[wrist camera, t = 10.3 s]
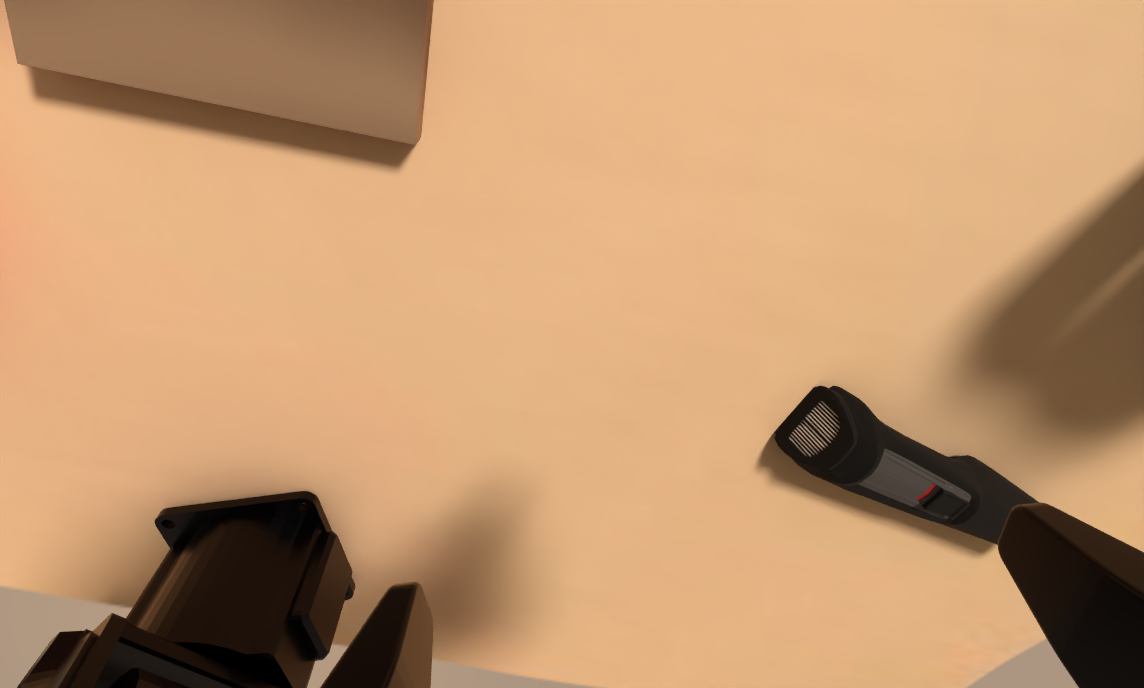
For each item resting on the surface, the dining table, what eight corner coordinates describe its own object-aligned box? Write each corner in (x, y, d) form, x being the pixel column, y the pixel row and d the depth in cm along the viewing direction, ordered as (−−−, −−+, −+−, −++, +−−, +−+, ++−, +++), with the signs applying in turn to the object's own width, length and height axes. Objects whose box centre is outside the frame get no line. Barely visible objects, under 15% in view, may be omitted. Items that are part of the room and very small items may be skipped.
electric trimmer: (990, 538, 30) (1037, 591, 28) (764, 437, 25) (795, 489, 23) (1050, 489, 29) (1106, 540, 26) (821, 371, 24) (862, 419, 21)
